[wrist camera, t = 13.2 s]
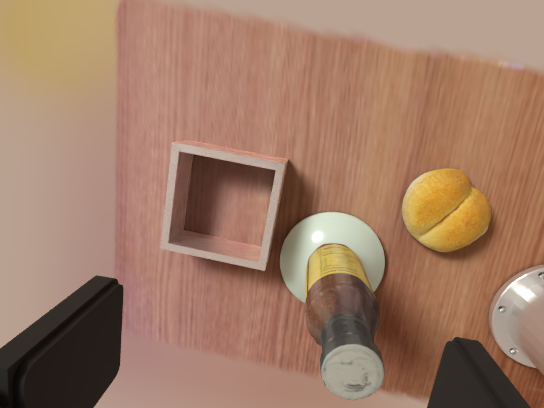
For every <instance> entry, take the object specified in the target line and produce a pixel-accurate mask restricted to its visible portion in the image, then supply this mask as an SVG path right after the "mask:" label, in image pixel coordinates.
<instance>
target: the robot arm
mask: <svg viewBox="0 0 544 408" xmlns="http://www.w3.org/2000/svg"><path fill="white" fill-rule="evenodd" d="M122 308H123V286H122V285H120V284H118V280H117V279H114V278H108V277H102V276H95V277H93V278H92V279H91V280H90V281H88V282H87V283H86V284H84V285H83V286H81V287H80V288H79V289H78V290H76V291H75V292H74V293H72V294H71V295H70V296H68V297H67V298H66V299H65V300H63V301H62V302H61V303H59V304H58V305H57V306H55V307H54V308H53V309H51V310H50V311H49V312H48V313H46V314H45V315H44V316H42V317H41V318H40V319H39V320H37V321H36V322H34V323H33V324H32V325H30V326H29V327H28V328H27V329H25V330H24V331H23V332H21V333H20V334H19V335H17V336H16V337H15V338H13V339H12V340H11V341H10V342H8V343H7V344H6V345H4V346H3V347H2V348H0V408H93V407H94V406H95V405H96V403H97V402H98V400H99V399H100V398H101V396H102V395H103V394H104V392H105V391H106V390H107V388H108V387H109V385H110V384H111V383H112V381H113V380H114V378H115V377H116V375H117V373H118V370H119V366H120V353H121V331H122ZM489 327H490V330H491V334H492V336H493V338H494V340H495V342H496V343H497V344H498V345H499V347H500V348H501V349H502V351H503V352H504V353H505V354H506V355H507V356H509V357H510V358H512V359H513V360H515V361H516V362H518V363H521V364H523V365H525V366H528V367H533V368H537V369H538V370H539V371H540V372H541V373H542V374H543V375H544V264H543V265H538V266H534V267H531V268H528V269H526V270H524V271H522V272H520V273H518V274H516V275H515V276H513V277H512V278H510V279H509V280H508V281H507V282H506V283H505V284H504V285H503V286H502V287H501V288H500V289H499V291H498V292H497V294H496V295H495V297H494V299H493V301H492V304H491V306H490V311H489ZM427 408H530V406H529V405H528V404H527V402H526V401H525V400H524V399H523V397H522V396H521V395H520V393H519V392H518V391H517V389H516V388H515V387H514V386H513V384H512V383H511V382H510V380H509V379H508V378H507V377H506V375H505V374H504V373H503V371H502V370H501V369H500V367H499V366H498V365H497V364H496V362H495V361H494V360H493V358H492V357H491V356H490V355H489V353H488V352H487V351H486V349H485V348H484V347H483V345H482V344H481V343H480V342H479V341H476V340H470V339H464V338H459V337H456V338H454V339H453V340H452V342H451V341H448V342H447V343H446V345H445V348H444V352H443V355H442V358H441V362H440V365H439V369H438V372H437V376H436V379H435V382H434V386H433V389H432V393H431V396H430V400H429V403H428V407H427Z"/></svg>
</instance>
